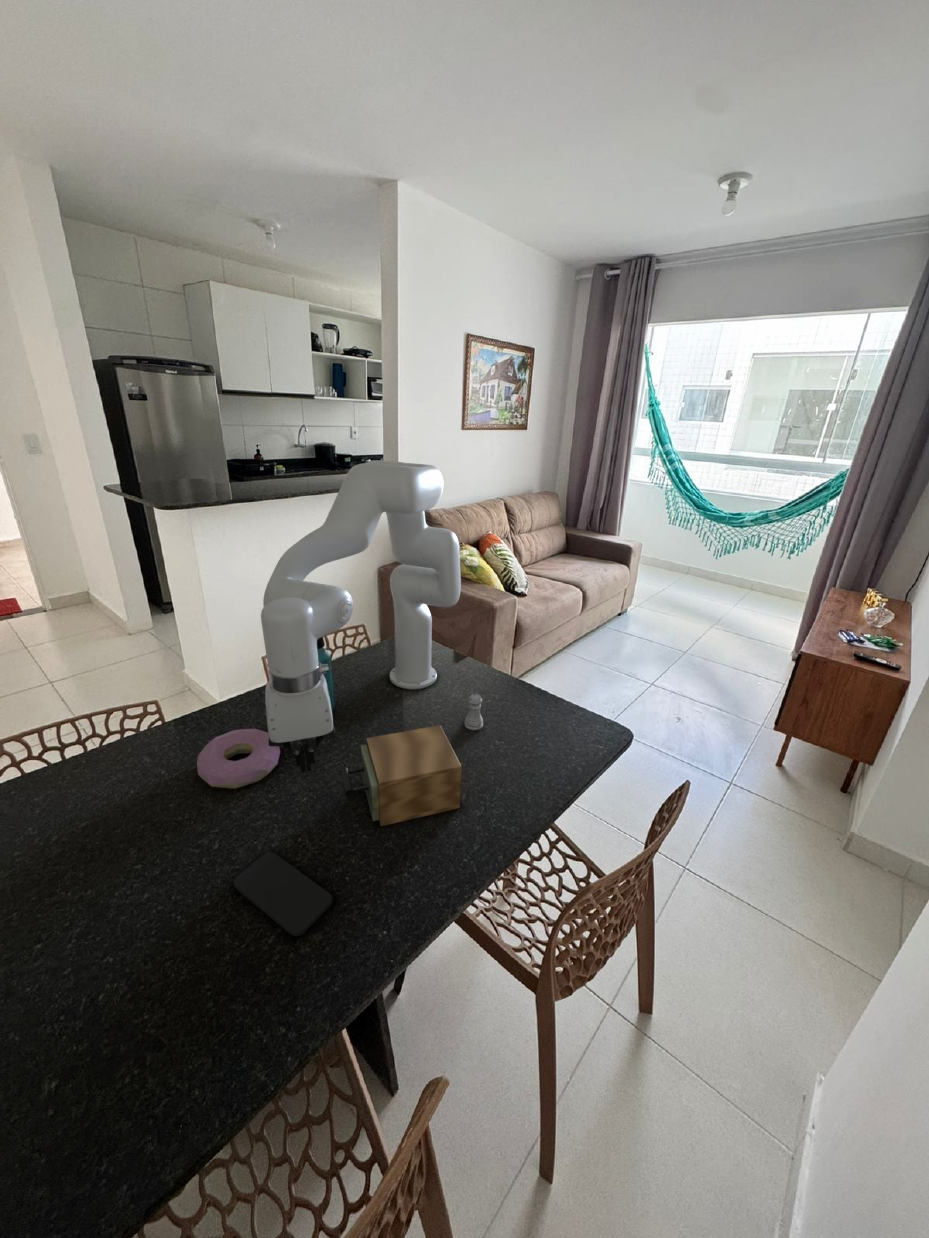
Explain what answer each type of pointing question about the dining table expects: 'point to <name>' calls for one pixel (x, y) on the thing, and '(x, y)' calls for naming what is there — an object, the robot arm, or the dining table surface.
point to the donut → (239, 772)
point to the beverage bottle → (325, 659)
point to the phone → (283, 893)
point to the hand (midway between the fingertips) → (306, 766)
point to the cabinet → (415, 774)
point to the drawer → (368, 781)
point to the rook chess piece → (474, 713)
